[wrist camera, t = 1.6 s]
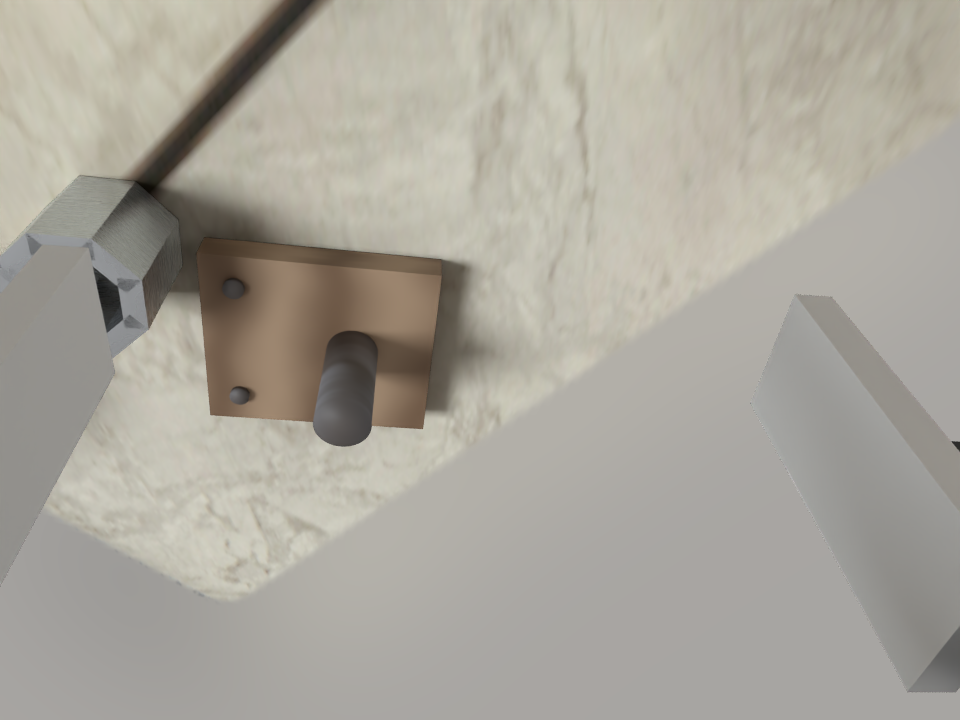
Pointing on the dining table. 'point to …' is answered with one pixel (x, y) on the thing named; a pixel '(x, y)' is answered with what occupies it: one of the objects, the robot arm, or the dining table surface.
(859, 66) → the dining table surface
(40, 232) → the hub
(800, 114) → the dining table surface
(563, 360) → the dining table surface
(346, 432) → the shaft block
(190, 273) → the dining table surface
